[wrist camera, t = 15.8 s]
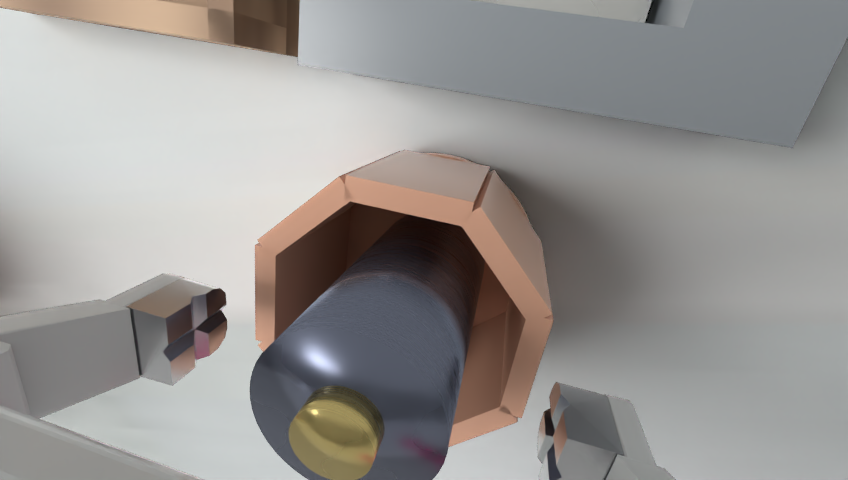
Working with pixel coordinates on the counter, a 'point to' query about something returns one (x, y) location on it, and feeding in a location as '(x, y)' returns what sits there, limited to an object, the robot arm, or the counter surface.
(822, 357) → the counter surface
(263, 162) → the counter surface
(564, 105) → the grey rectangular frame box
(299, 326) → the cell
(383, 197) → the cup
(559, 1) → the plate
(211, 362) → the counter surface
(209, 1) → the trough
